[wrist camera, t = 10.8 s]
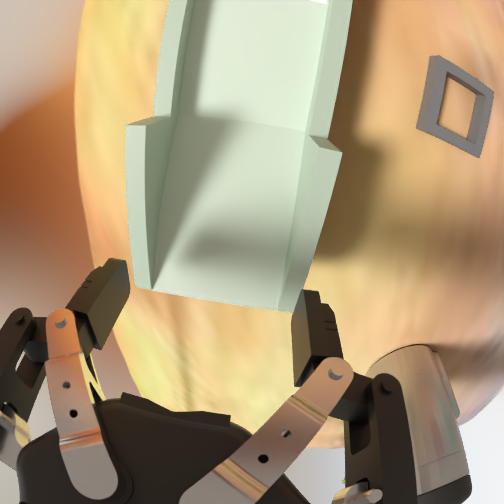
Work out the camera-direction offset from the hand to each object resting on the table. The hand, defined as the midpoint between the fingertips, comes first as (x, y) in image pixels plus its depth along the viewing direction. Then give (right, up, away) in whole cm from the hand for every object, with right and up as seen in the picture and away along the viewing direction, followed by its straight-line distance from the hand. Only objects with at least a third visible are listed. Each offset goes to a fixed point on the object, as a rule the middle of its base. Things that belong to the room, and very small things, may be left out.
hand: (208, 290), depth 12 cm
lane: (+2, +15, 0) cm, 15 cm away
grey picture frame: (+16, +12, +1) cm, 20 cm away
